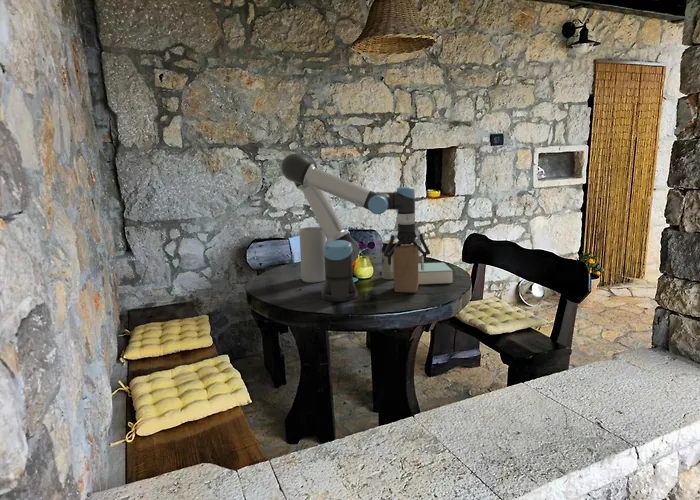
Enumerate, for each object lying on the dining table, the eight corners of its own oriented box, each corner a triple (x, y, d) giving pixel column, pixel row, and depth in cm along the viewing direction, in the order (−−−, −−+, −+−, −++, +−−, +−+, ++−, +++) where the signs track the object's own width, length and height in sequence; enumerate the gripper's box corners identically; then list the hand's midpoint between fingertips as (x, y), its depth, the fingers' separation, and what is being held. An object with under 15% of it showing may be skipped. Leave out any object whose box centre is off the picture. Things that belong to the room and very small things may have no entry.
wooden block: (417, 293, 202) (417, 248, 198) (393, 292, 204) (393, 247, 200) (418, 287, 212) (418, 243, 208) (396, 286, 214) (396, 243, 210)
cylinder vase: (324, 275, 237) (322, 226, 232) (329, 281, 225) (327, 230, 220) (299, 277, 234) (297, 228, 229) (303, 284, 222) (301, 231, 217)
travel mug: (398, 275, 233) (398, 239, 229) (398, 279, 225) (398, 242, 222) (382, 275, 234) (381, 240, 230) (381, 279, 226) (381, 243, 222)
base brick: (418, 284, 216) (418, 271, 215) (411, 275, 232) (411, 263, 231) (452, 282, 217) (452, 270, 216) (443, 274, 233) (443, 262, 232)
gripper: (378, 225, 198) (379, 274, 202) (437, 222, 199) (437, 271, 203) (376, 223, 205) (377, 270, 209) (432, 220, 207) (433, 267, 211)
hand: (407, 270), depth 206 cm, fingers open, 13 cm apart
